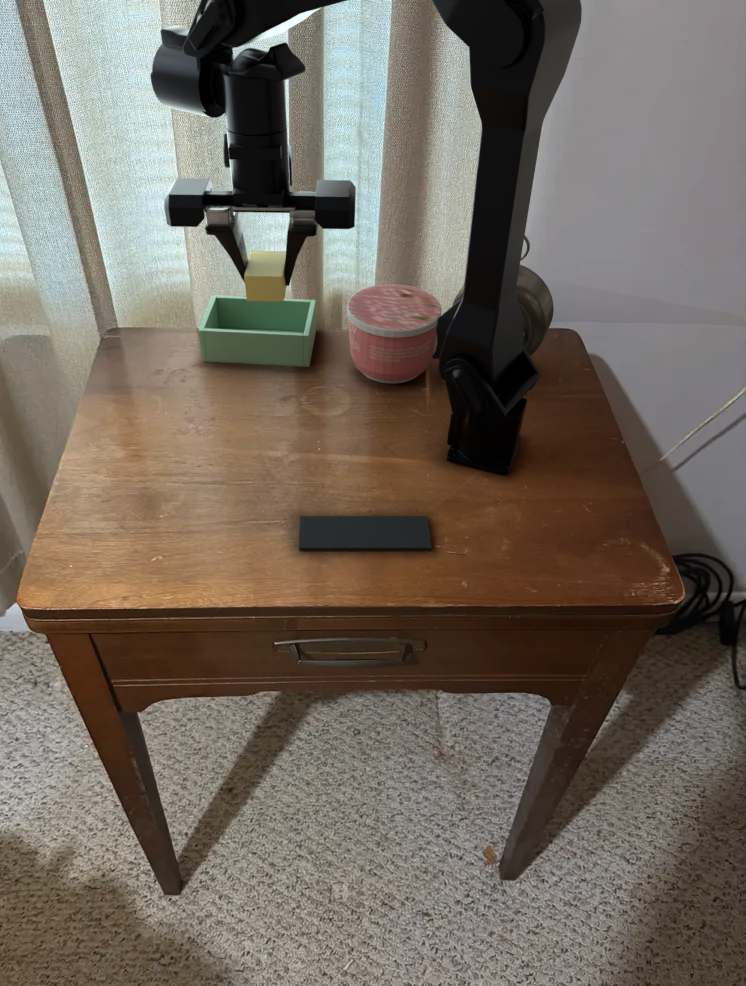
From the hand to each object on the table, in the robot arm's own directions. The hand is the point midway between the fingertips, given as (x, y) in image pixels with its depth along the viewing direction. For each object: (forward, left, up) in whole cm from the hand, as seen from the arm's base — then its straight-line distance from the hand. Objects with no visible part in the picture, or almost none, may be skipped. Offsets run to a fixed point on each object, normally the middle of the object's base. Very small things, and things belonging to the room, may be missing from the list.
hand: (267, 283), depth 82 cm
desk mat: (-20, +22, -10) cm, 31 cm away
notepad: (0, 0, -1) cm, 0 cm away
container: (-13, -5, -11) cm, 17 cm away
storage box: (+3, -3, -10) cm, 11 cm away
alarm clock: (-24, -10, -11) cm, 28 cm away
